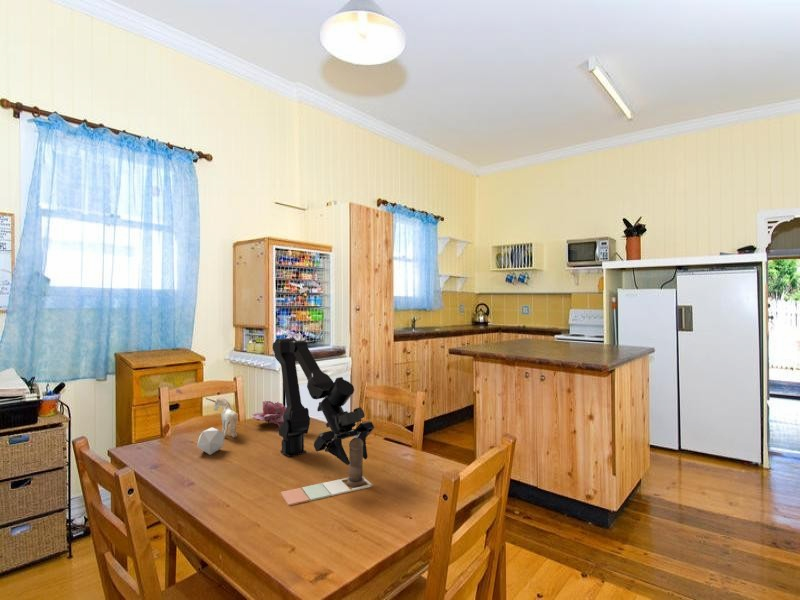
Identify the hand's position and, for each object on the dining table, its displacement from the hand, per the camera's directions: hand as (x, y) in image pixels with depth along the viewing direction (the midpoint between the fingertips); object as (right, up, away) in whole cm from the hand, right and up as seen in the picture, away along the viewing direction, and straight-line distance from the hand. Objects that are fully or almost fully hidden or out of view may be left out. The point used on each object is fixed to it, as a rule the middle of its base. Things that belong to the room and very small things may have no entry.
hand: (357, 461), depth 123 cm
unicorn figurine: (-57, -6, +42) cm, 71 cm away
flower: (-42, -6, +57) cm, 71 cm away
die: (-53, -6, +25) cm, 59 cm away
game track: (-8, -7, -3) cm, 11 cm away
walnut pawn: (-1, -7, +1) cm, 7 cm away
